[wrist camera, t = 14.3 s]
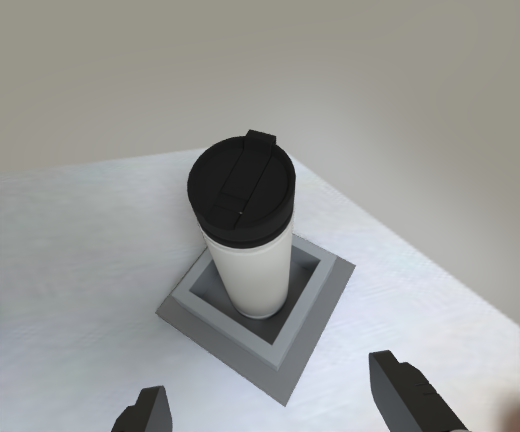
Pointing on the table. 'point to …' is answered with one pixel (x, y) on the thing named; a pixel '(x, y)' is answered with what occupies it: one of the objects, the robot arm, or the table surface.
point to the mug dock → (266, 331)
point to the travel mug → (247, 219)
